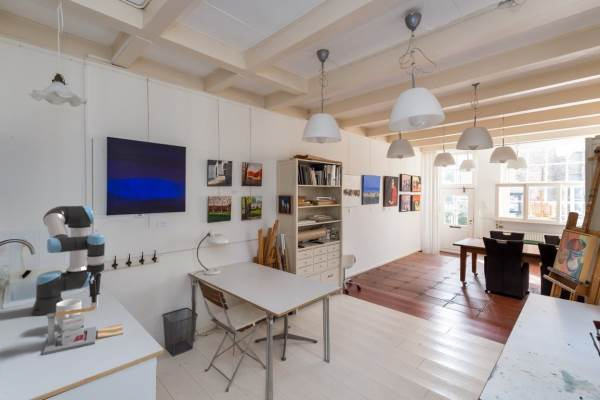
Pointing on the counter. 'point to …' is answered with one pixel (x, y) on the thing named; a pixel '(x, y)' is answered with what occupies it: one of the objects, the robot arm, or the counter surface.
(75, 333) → the ink box
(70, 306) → the mug
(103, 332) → the pad
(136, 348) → the counter surface
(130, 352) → the counter surface
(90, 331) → the stand
